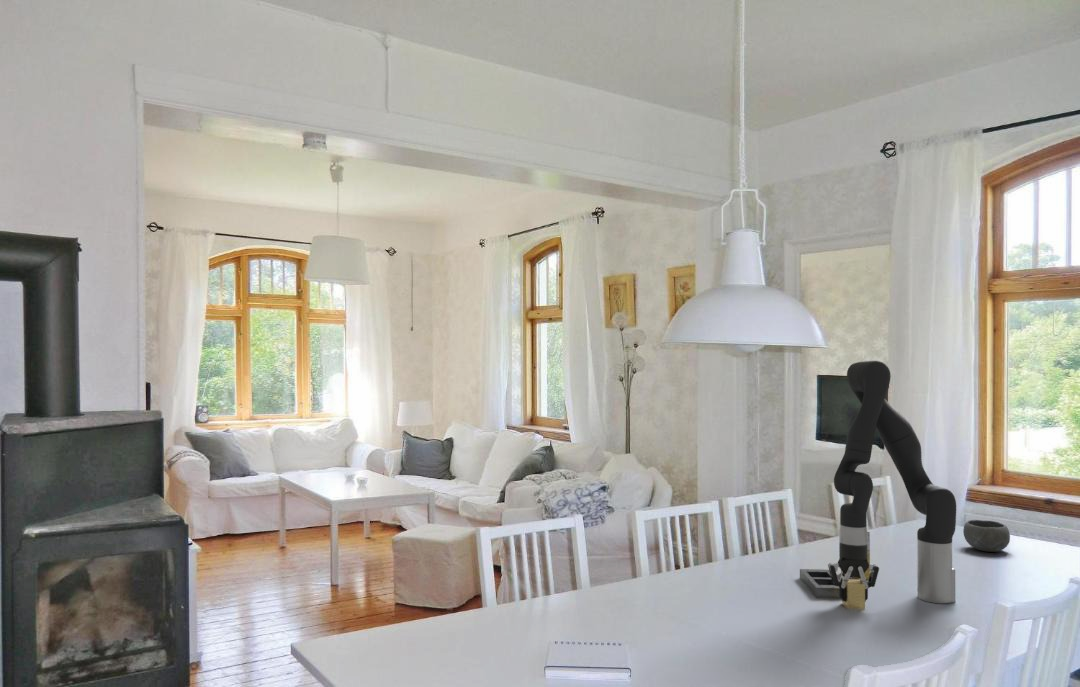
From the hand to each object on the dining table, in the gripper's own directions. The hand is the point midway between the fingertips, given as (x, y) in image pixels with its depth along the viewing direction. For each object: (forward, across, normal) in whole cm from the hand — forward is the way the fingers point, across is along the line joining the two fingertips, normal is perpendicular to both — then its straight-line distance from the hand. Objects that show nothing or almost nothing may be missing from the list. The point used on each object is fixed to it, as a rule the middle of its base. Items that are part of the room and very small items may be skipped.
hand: (853, 600), depth 222 cm
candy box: (+2, -10, -31) cm, 33 cm away
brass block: (+2, 0, 0) cm, 2 cm away
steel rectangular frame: (+2, +4, -17) cm, 18 cm away
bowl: (+2, -69, -70) cm, 98 cm away
